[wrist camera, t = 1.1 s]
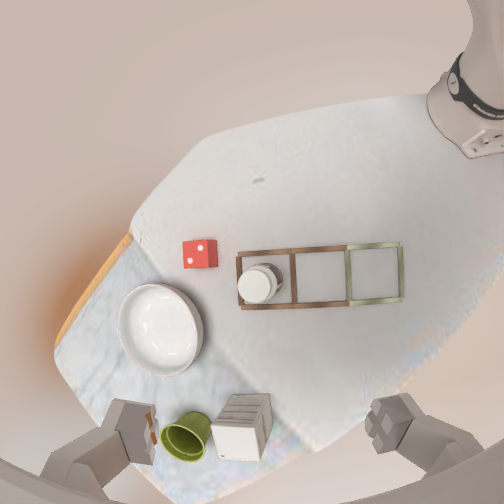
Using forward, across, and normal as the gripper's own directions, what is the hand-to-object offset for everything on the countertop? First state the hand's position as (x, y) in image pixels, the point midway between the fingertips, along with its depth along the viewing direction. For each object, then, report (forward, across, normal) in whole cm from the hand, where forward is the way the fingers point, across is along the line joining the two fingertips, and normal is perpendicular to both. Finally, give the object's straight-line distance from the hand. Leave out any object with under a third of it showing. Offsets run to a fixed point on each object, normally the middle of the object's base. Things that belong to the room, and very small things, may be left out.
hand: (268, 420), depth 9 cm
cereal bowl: (+44, +11, +20) cm, 49 cm away
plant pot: (+37, +6, +40) cm, 55 cm away
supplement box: (+35, -4, +33) cm, 48 cm away
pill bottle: (+40, -6, +8) cm, 42 cm away
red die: (+44, +5, +6) cm, 45 cm away
